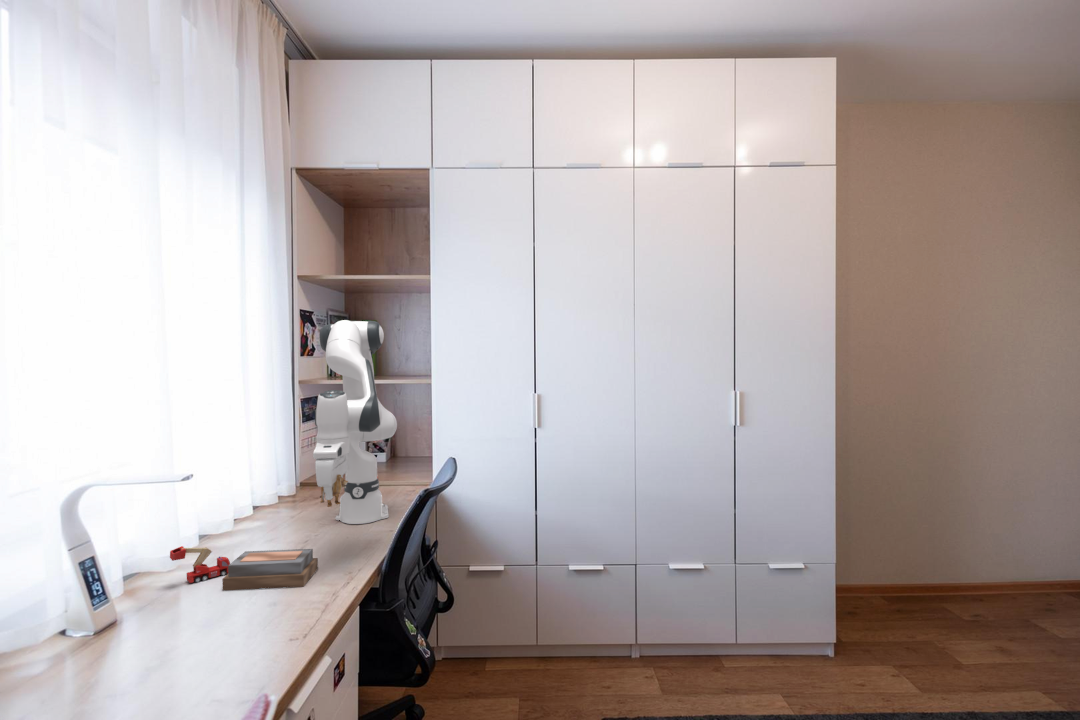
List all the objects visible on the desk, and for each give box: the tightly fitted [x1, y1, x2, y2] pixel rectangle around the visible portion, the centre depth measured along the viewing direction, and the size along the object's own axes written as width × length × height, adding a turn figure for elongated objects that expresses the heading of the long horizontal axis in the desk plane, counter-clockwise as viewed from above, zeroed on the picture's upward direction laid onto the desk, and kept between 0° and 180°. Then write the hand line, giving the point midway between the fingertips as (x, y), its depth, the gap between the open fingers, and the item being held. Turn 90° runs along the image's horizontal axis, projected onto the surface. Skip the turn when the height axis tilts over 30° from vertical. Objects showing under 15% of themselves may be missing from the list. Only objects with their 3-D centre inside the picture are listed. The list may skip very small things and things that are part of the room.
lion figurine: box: [319, 474, 348, 508], centre depth 160 cm, size 15×5×9 cm, turn 45°
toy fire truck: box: [169, 545, 231, 584], centre depth 148 cm, size 3×14×10 cm, turn 134°
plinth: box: [221, 548, 319, 591], centre depth 148 cm, size 12×20×6 cm, turn 95°
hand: (333, 495), depth 159 cm, fingers closed on lion figurine, 8 cm apart
